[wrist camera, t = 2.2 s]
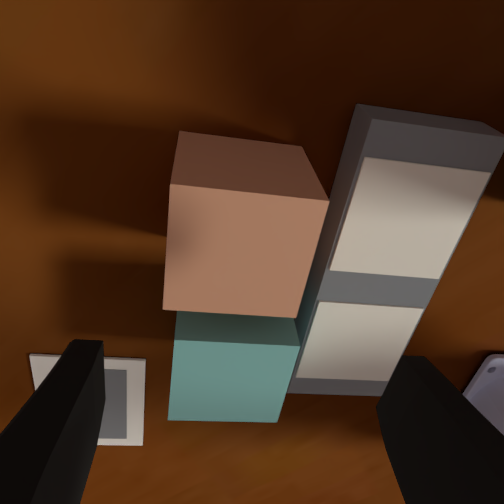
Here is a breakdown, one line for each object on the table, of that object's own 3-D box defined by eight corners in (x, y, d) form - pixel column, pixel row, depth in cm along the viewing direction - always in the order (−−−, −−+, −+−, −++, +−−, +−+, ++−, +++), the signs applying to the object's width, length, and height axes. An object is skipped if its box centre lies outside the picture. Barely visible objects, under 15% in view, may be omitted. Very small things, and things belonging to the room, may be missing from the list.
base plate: (370, 368, 26) (382, 397, 24) (281, 364, 25) (287, 394, 23) (482, 121, 18) (512, 139, 16) (356, 103, 17) (373, 119, 15)
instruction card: (142, 443, 28) (142, 446, 28) (45, 441, 27) (44, 445, 27) (145, 358, 24) (145, 362, 24) (30, 353, 23) (28, 357, 23)
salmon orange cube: (278, 246, 20) (296, 317, 16) (172, 236, 20) (162, 309, 16) (301, 145, 18) (329, 201, 14) (179, 130, 17) (170, 183, 13)
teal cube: (265, 343, 24) (276, 422, 20) (174, 339, 23) (167, 420, 19) (282, 272, 21) (300, 346, 17) (181, 264, 21) (174, 340, 16)
